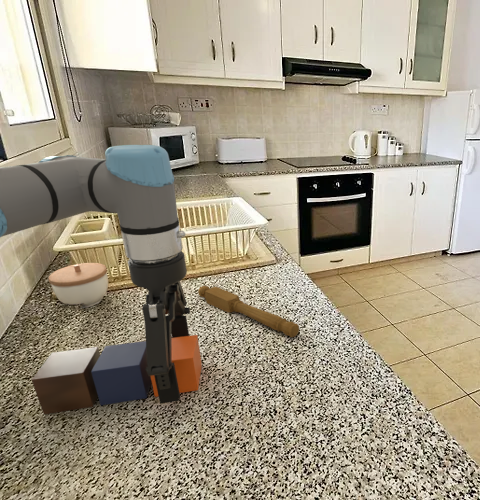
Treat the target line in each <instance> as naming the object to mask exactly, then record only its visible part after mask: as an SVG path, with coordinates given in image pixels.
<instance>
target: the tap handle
mask: <svg viewBox="0 0 480 500" xmlns="http://www.w3.org/2000/svg"><path fill="white" fill-rule="evenodd" d="M197 290H198V291H197V294H198V296H199V297H201V298H204V300H205V302H206V304H208V305H209V306H212V307H214V308H217V309H219V310H221V311H223V312H226V313H229V314H230V313H234V312H235V313H238V314H239V313H240V314H242V315H244V316H246V317H248V318H250V319H252V320H255V321H256V322H258V323H260V324H261V325H264V326H266V327H268V328H270V329H272V330H274V331H277V332H278V333H283V334H284V335H285V336H289V337H290V338H295V337H296V336H297V335H298V334H299V332H300V325H299V324H298V323H296V322H294V321H290V320H287V319H286V318H283V317H282V316H279V315H277V314H274V313H271V312H270V311H265V310H263V309H260V308H258V307H256V306H252V305H249V304H247V303H244V301H243V300H241V299H240V297H239V295H238V294H236V293H234V292H231V291H228V290H226V289H223V288H221V287H218V286H213V287H209V286H207V285H202V286H200V287H199V288H198V289H197Z"/></svg>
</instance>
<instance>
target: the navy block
mask: <svg viewBox="0 0 480 500" xmlns="http://www.w3.org/2000/svg"><path fill="white" fill-rule="evenodd" d="M145 368H147V352H146V340H142V341H135V342H128V343H120V344H110V345H105V346H104V347H103V349H102V351H101V353H100V357H99V358H98V360H97V362H96V364H95V366H94V367H93V369H92V371H91V373H92V376H93V380H94V384H95V387H96V391H97V394H98V398H97V399H98V401H99V404H100V406H106V405H113V404H118V403H125V402H131V401H137V400H144V399H148V396H149V392H150V390H151V386H152V381H151V376H148V373H147V372H146V370H145Z"/></svg>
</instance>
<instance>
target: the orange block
mask: <svg viewBox="0 0 480 500" xmlns="http://www.w3.org/2000/svg"><path fill="white" fill-rule="evenodd" d="M171 344H172V363H174V365H175V371H176V376H177V382H178V387H179V393H180V394H182V393H189V392H195V391H198V390H199V387H200V380H201V373H202V367H203V366H202V364H203V363H202V358H201V356H202V355H201V351H200V350H201V349H200V344H199V337H198V334H192V335H189V336H184V337H176V338H172V337H171ZM151 381H152V383H151V386H152V390H153V395H154V397H155V398H157V397H158V398H159V396H158V391H157V386H156V382H155V377H154V375H153V376H151Z"/></svg>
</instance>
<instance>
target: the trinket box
mask: <svg viewBox="0 0 480 500" xmlns="http://www.w3.org/2000/svg"><path fill="white" fill-rule="evenodd" d="M48 282H49V284H50V286H51V289H52V292H53V293H54V295H55V297H56V298H57V300H58V301H60V302H61V303H62V304H64V305H73V306H74V305H81V306H80V308H79V309H86V308H91V307H93V306H96V305H98V304H99V303H101V301H103V300H102V299H103V298H104V296H105V295H106V294H107V292H108V288H109V275H108V268H107V266H106V265H105V264H103V263H99V262H83V263H76V264H72V265H68V266H65V267H64V266H63V267H61V268H59V269H57V270H55V271H53V272H52V273H51V274H49V276H48Z"/></svg>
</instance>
